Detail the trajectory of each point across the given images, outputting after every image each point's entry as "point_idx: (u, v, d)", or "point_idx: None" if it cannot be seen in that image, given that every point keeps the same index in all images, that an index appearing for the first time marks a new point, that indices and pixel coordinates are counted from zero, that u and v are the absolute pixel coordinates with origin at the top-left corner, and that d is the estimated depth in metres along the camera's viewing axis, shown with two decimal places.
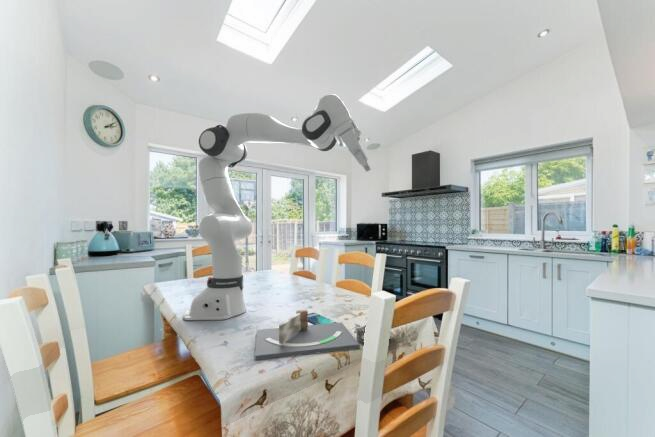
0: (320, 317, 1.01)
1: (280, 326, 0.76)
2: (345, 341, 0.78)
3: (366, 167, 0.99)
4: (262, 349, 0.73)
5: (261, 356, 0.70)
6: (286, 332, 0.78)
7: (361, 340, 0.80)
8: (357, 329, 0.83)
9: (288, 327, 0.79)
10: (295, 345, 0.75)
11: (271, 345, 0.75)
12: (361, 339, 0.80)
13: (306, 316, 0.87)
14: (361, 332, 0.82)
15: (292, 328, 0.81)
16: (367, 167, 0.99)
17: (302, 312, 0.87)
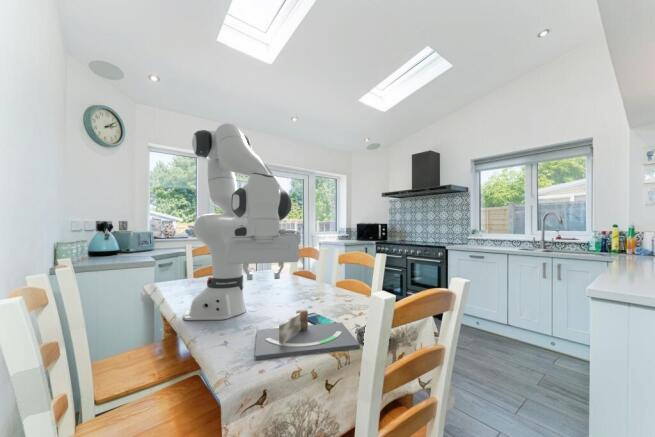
0: (320, 317, 1.01)
1: (280, 326, 0.76)
2: (345, 341, 0.78)
3: None
4: (262, 349, 0.73)
5: (261, 356, 0.70)
6: (286, 332, 0.78)
7: (362, 340, 0.79)
8: (357, 329, 0.82)
9: (288, 327, 0.79)
10: (295, 345, 0.75)
11: (271, 345, 0.75)
12: (362, 339, 0.79)
13: (306, 316, 0.87)
14: (361, 332, 0.82)
15: (292, 328, 0.81)
16: None
17: (302, 312, 0.87)
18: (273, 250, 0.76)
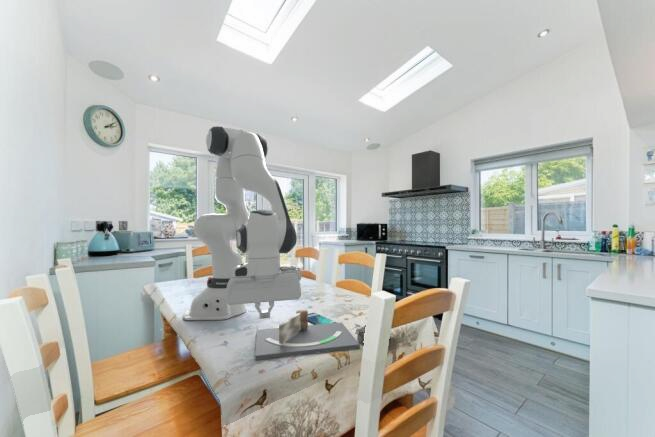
0: (320, 317, 1.01)
1: (280, 326, 0.76)
2: (345, 341, 0.78)
3: None
4: (262, 349, 0.73)
5: (261, 356, 0.70)
6: (286, 332, 0.78)
7: None
8: (358, 330, 0.82)
9: (288, 327, 0.79)
10: (295, 345, 0.75)
11: (271, 345, 0.75)
12: (363, 340, 0.79)
13: (306, 316, 0.87)
14: (362, 333, 0.82)
15: (292, 328, 0.81)
16: None
17: (302, 312, 0.87)
18: (274, 288, 0.75)
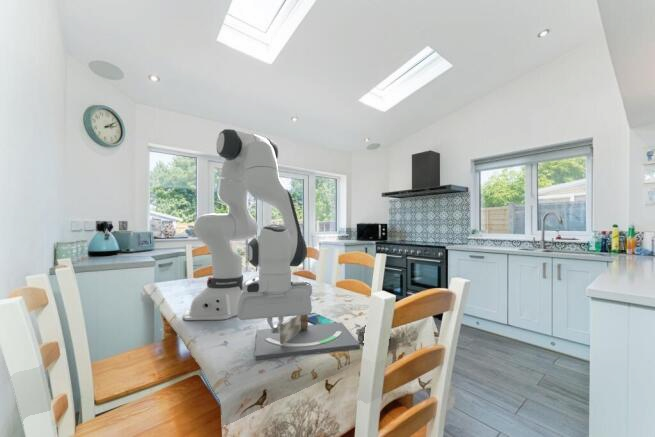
0: (320, 317, 1.01)
1: (281, 326, 0.75)
2: (345, 341, 0.78)
3: None
4: (262, 349, 0.73)
5: (261, 356, 0.70)
6: (287, 332, 0.78)
7: None
8: (358, 330, 0.82)
9: (289, 327, 0.79)
10: (295, 345, 0.75)
11: (271, 345, 0.75)
12: (363, 340, 0.79)
13: (306, 316, 0.87)
14: (362, 333, 0.82)
15: (292, 328, 0.81)
16: None
17: None
18: (285, 303, 0.76)
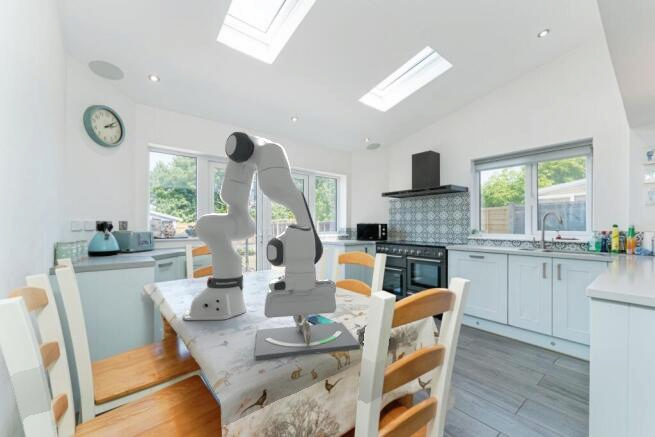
0: (320, 317, 1.01)
1: (308, 327, 0.75)
2: (345, 341, 0.78)
3: None
4: (262, 349, 0.73)
5: (261, 356, 0.70)
6: None
7: None
8: (358, 330, 0.82)
9: None
10: (295, 345, 0.75)
11: (271, 345, 0.75)
12: None
13: None
14: (362, 333, 0.81)
15: None
16: None
17: None
18: (310, 301, 0.77)
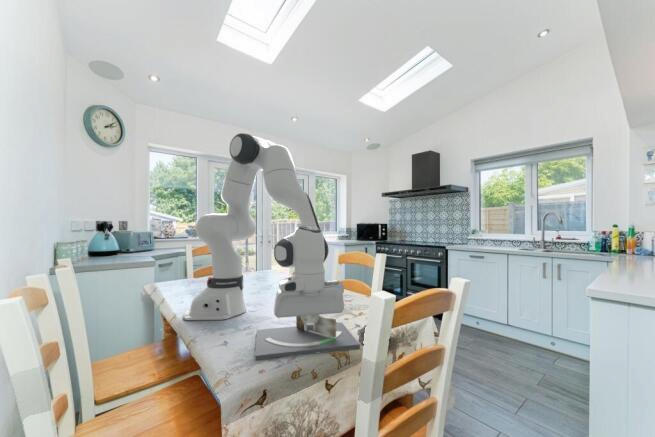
0: None
1: (335, 320, 0.80)
2: (345, 341, 0.78)
3: None
4: (262, 349, 0.73)
5: (261, 356, 0.70)
6: None
7: None
8: (359, 331, 0.81)
9: None
10: (295, 345, 0.75)
11: (271, 345, 0.75)
12: None
13: None
14: (363, 333, 0.81)
15: None
16: None
17: None
18: (319, 302, 0.78)
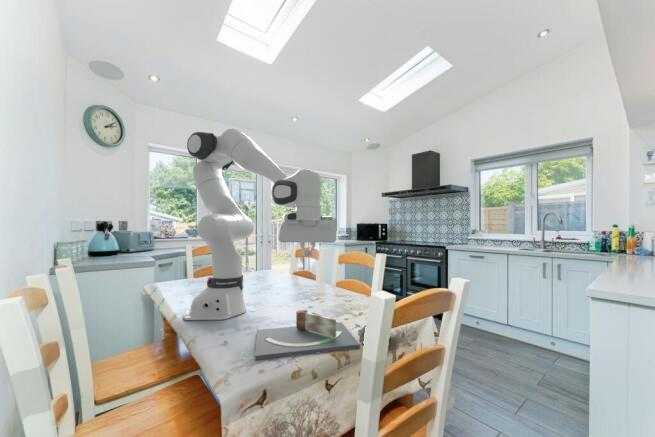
0: None
1: (335, 320, 0.80)
2: (345, 341, 0.78)
3: None
4: (262, 349, 0.73)
5: (261, 356, 0.70)
6: None
7: None
8: (359, 331, 0.81)
9: None
10: (295, 345, 0.75)
11: (271, 345, 0.75)
12: None
13: None
14: (363, 334, 0.81)
15: None
16: None
17: (304, 311, 0.88)
18: (316, 232, 0.95)
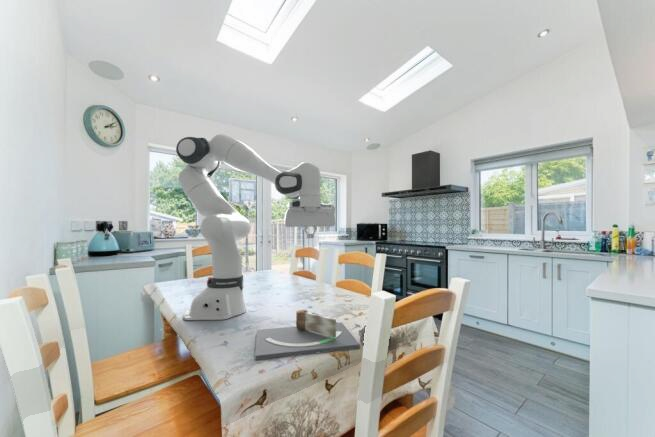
0: None
1: (335, 320, 0.80)
2: (345, 341, 0.78)
3: None
4: (262, 349, 0.73)
5: (261, 356, 0.70)
6: None
7: None
8: (360, 331, 0.81)
9: None
10: (295, 345, 0.75)
11: (271, 345, 0.75)
12: None
13: None
14: None
15: None
16: None
17: (304, 311, 0.88)
18: (317, 217, 1.08)
